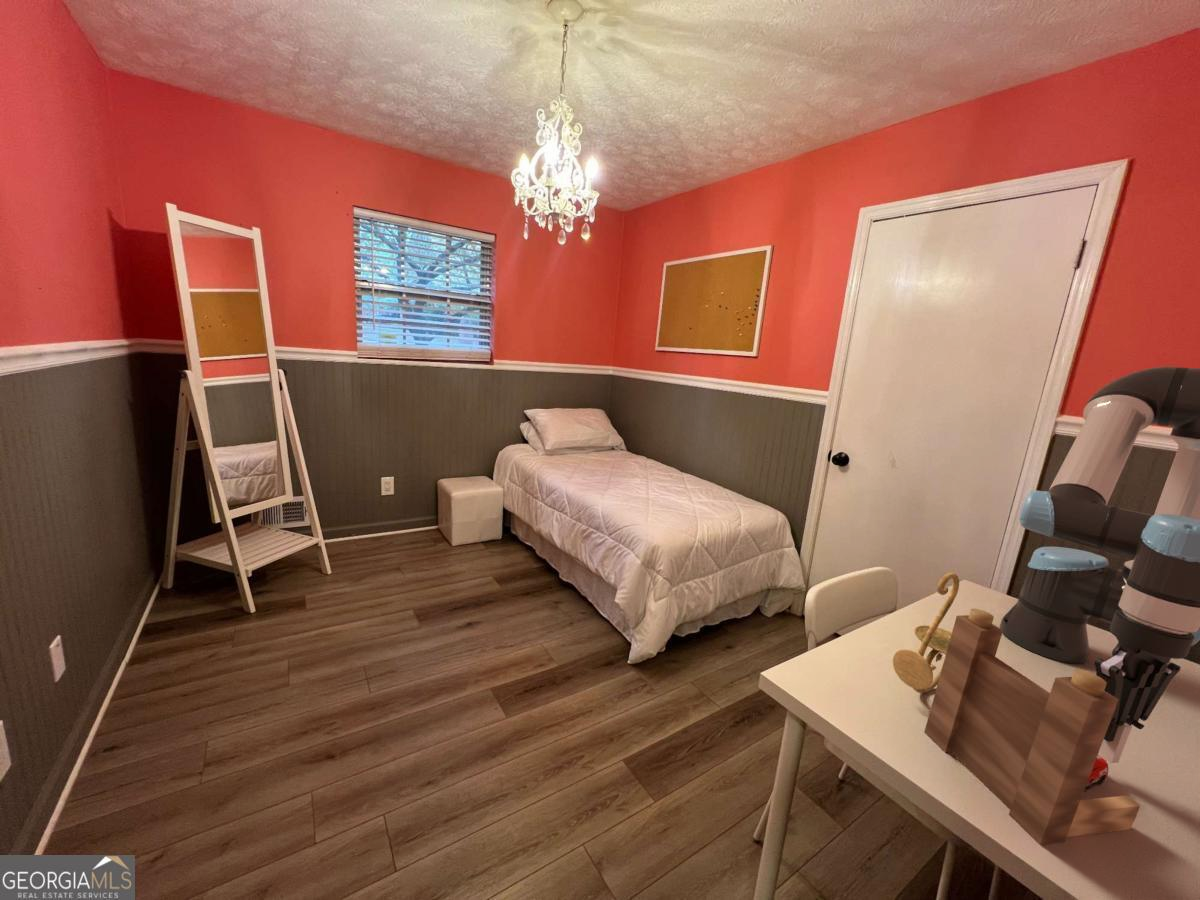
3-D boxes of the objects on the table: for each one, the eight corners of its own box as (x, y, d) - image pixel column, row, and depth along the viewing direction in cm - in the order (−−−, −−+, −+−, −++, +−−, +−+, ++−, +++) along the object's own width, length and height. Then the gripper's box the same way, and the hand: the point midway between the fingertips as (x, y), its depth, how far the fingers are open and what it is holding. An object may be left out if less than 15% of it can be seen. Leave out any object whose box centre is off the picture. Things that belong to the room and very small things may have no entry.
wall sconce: (930, 721, 80) (967, 591, 74) (877, 684, 88) (907, 565, 82) (972, 699, 86) (1008, 578, 80) (919, 667, 94) (948, 555, 89)
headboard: (1002, 726, 80) (1041, 605, 75) (1135, 833, 62) (1197, 684, 57) (924, 732, 77) (959, 606, 72) (1040, 844, 60) (1096, 689, 55)
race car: (1061, 804, 66) (1069, 781, 65) (1017, 771, 71) (1024, 749, 70) (1114, 783, 70) (1122, 761, 69) (1069, 753, 75) (1076, 733, 74)
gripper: (1154, 605, 71) (1106, 733, 76) (1088, 606, 69) (1043, 738, 74) (1225, 634, 64) (1168, 773, 69) (1154, 637, 62) (1100, 780, 66)
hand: (1103, 755), depth 71 cm, fingers closed
